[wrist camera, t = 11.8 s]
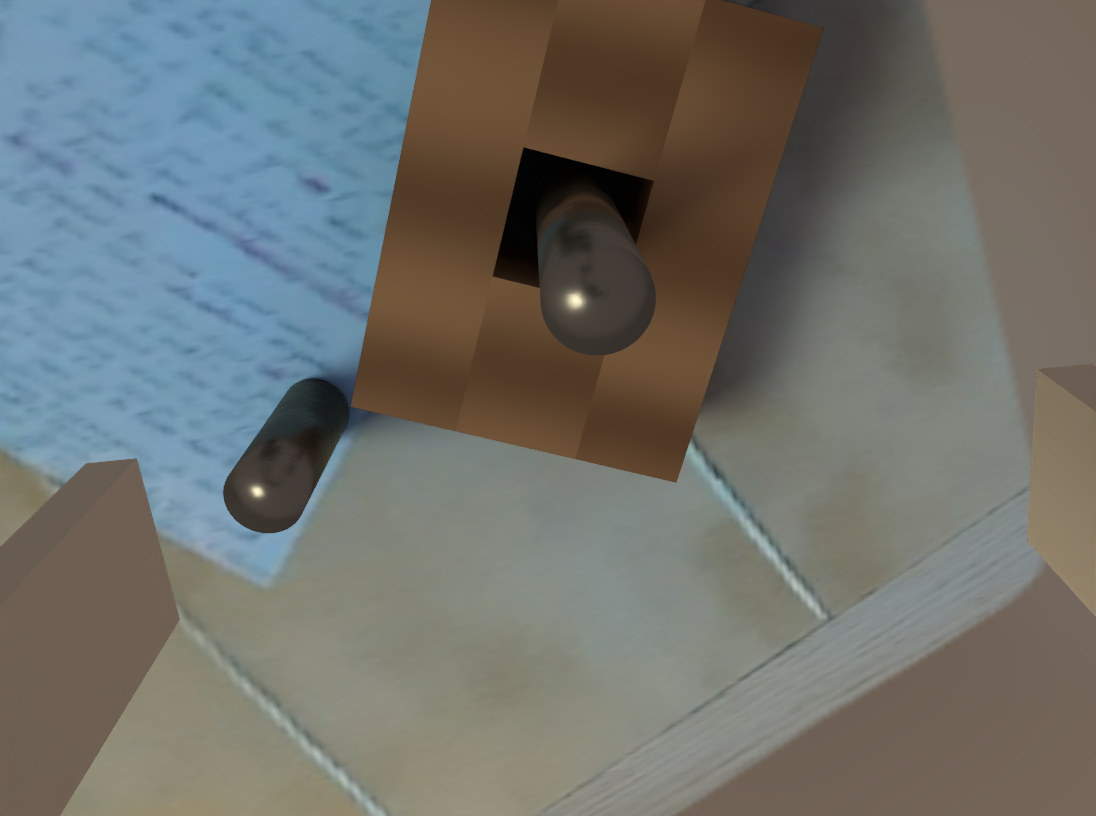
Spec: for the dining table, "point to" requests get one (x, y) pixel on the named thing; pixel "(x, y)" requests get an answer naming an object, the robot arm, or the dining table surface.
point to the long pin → (589, 265)
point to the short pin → (287, 457)
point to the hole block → (650, 215)
